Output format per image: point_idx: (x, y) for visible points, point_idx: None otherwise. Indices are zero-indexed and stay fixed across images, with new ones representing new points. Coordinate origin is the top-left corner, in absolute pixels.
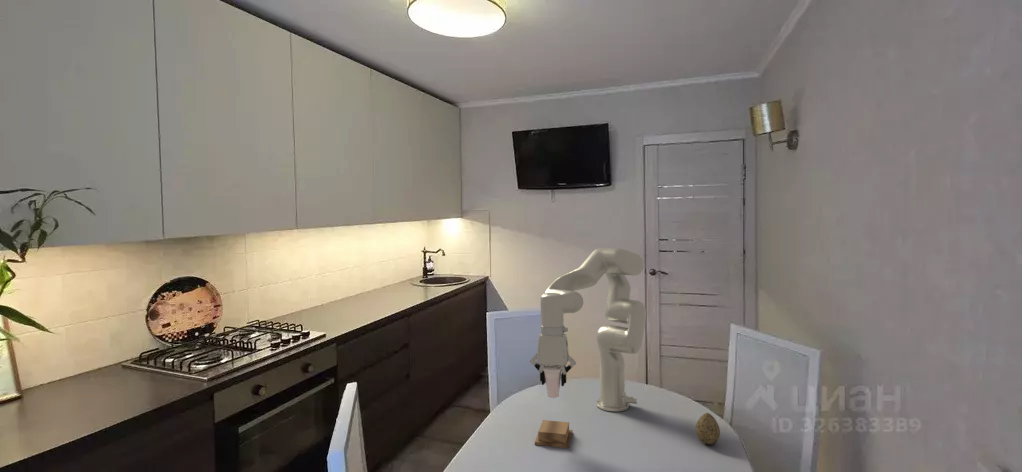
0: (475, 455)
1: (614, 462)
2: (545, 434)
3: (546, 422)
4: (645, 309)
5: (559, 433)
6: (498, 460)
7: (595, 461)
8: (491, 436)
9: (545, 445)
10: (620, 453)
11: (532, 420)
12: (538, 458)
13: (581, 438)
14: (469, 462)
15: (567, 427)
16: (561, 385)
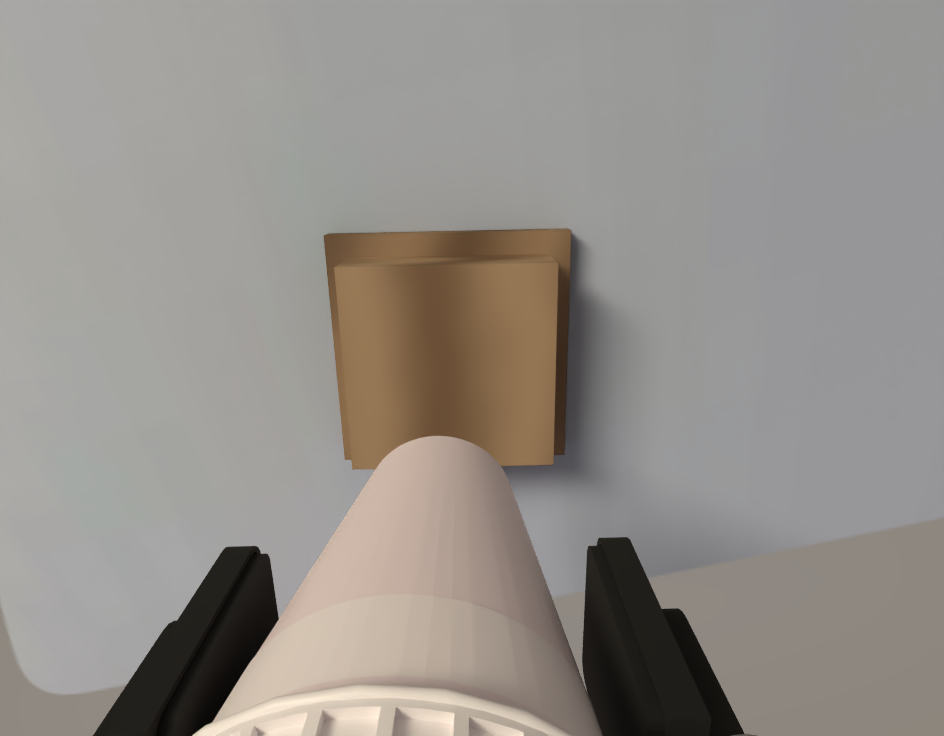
0: (69, 625)
1: (823, 533)
2: None
3: (373, 306)
4: None
5: (508, 463)
6: None
7: (720, 545)
8: (33, 407)
9: None
10: (873, 434)
11: (207, 68)
12: None
13: (635, 298)
14: (79, 685)
15: (555, 358)
16: (586, 672)
